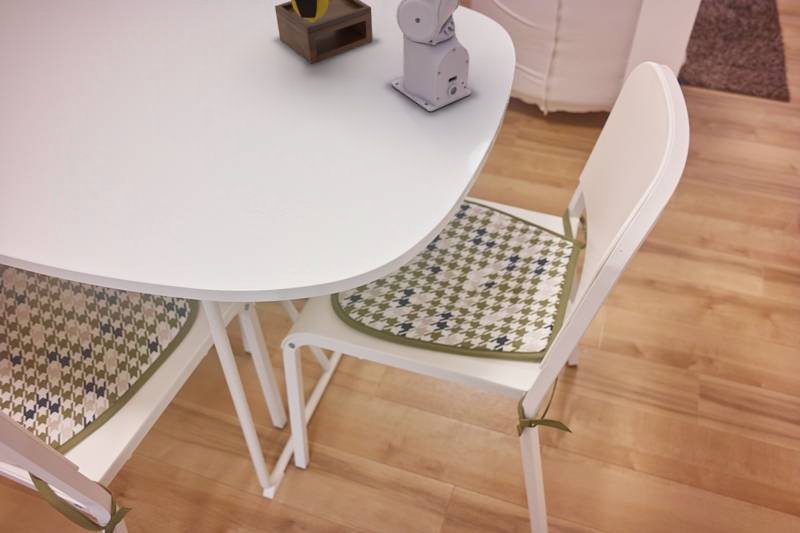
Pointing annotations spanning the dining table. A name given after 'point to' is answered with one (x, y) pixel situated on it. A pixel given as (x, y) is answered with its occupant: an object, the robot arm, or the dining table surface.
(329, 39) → the walnut box
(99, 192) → the dining table surface
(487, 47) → the dining table surface
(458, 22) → the dining table surface
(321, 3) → the lemon
